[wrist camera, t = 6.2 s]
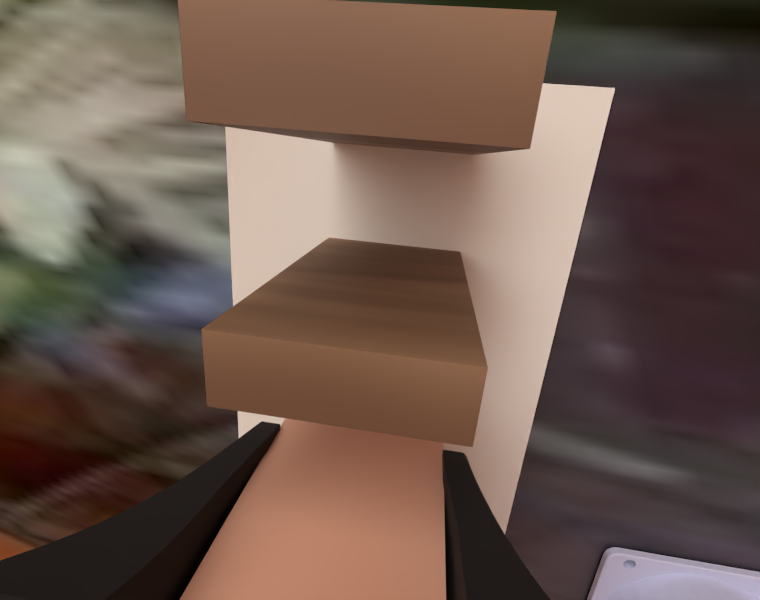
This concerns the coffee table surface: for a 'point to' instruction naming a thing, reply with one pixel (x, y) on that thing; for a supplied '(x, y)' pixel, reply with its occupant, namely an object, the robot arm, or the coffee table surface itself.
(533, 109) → the tile
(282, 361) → the tile
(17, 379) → the coffee table surface
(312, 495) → the tile
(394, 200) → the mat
